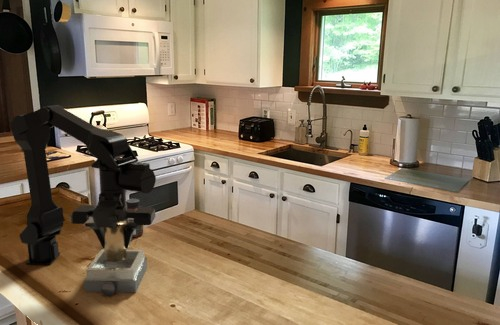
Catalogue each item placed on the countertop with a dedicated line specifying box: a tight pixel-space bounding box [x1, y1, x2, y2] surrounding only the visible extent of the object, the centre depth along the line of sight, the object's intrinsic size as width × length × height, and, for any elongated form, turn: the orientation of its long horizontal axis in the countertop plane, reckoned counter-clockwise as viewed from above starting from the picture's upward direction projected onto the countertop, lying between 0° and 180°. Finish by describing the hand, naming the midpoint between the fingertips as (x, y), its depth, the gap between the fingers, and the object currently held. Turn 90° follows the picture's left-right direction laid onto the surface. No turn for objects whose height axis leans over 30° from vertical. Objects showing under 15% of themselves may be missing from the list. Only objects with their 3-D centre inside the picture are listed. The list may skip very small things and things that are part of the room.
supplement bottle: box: [125, 198, 144, 238], centre depth 128 cm, size 6×6×11 cm
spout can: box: [103, 221, 128, 262], centre depth 100 cm, size 5×6×11 cm
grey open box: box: [83, 248, 148, 297], centre depth 101 cm, size 12×14×6 cm
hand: (115, 247), depth 100 cm, fingers closed on spout can, 5 cm apart
